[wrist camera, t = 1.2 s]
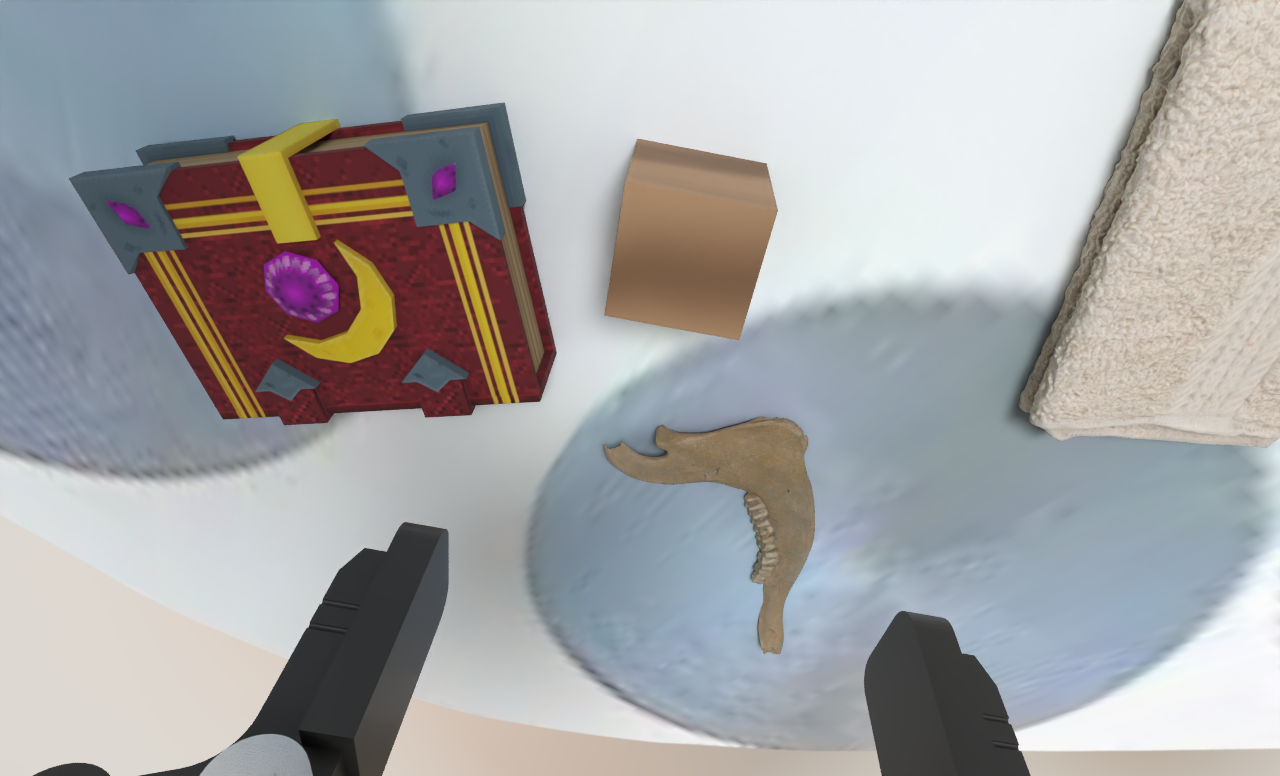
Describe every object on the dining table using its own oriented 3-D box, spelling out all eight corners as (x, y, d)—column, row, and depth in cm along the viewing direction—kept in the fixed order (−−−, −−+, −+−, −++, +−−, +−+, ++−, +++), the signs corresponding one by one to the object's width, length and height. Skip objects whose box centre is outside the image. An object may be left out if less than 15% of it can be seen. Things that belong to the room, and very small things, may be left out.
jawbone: (763, 353, 32) (770, 377, 30) (901, 599, 42) (912, 627, 40) (601, 430, 34) (599, 456, 33) (767, 645, 44) (772, 673, 42)
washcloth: (1003, 412, 32) (1028, 455, 30) (1168, -30, 22) (1228, -22, 19) (1270, 421, 31) (1319, 466, 29) (1576, -36, 21) (1695, -28, 18)
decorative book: (563, 352, 32) (542, 416, 28) (252, 372, 34) (190, 435, 30) (506, 97, 25) (467, 132, 21) (126, 143, 28) (26, 183, 23)
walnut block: (637, 138, 26) (625, 181, 22) (766, 163, 26) (777, 210, 22) (618, 257, 29) (604, 315, 24) (734, 279, 29) (738, 340, 25)
